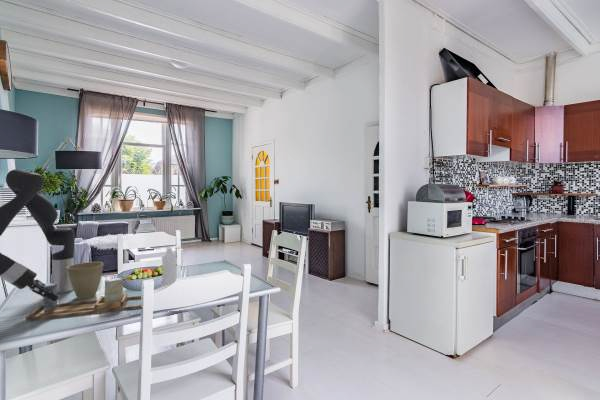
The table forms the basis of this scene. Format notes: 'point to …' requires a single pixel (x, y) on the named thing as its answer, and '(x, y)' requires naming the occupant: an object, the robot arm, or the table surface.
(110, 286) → the skincare box
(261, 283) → the table surface
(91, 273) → the plant pot
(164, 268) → the water bottle
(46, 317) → the brown flat long board
